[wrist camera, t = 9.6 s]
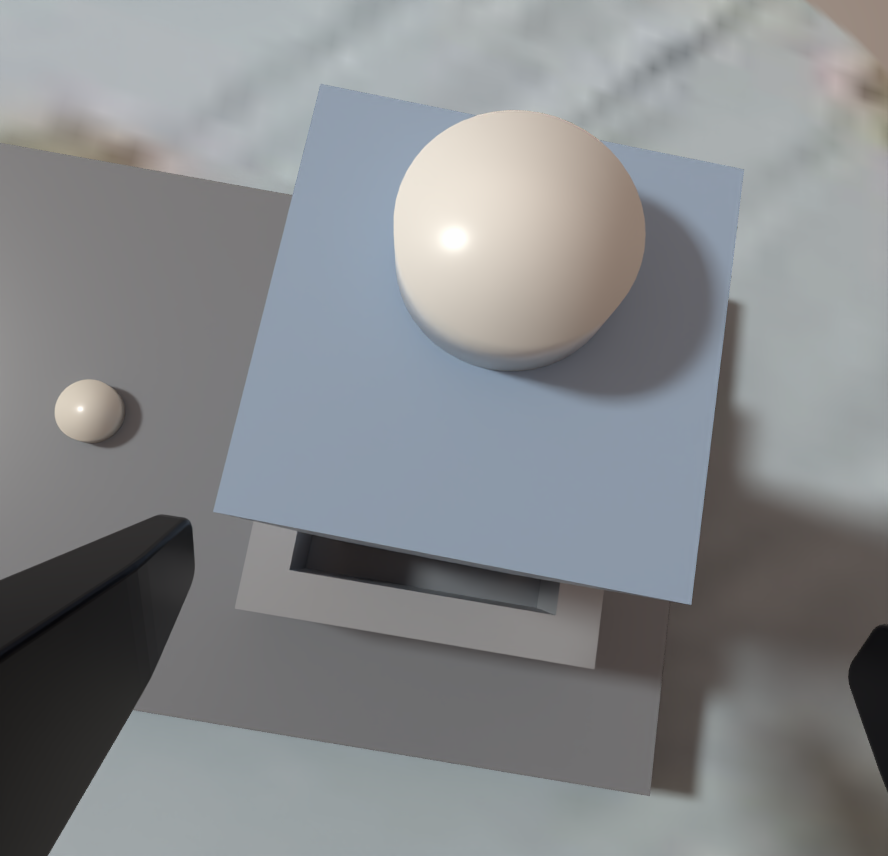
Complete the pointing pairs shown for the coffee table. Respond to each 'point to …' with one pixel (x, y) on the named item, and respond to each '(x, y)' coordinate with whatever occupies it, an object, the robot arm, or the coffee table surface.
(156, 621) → the robot arm
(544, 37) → the coffee table surface
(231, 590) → the plate
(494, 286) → the block
